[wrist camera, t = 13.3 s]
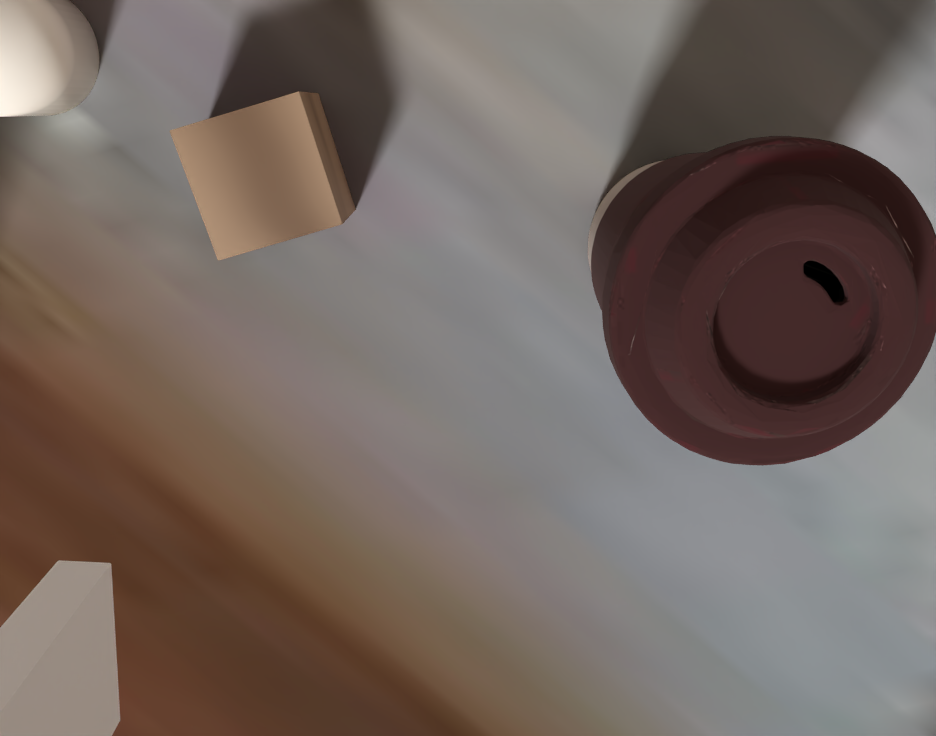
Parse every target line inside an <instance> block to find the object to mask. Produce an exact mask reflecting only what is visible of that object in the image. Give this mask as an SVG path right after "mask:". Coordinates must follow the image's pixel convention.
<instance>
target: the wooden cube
mask: <svg viewBox="0 0 936 736" xmlns="http://www.w3.org/2000/svg"><path fill="white" fill-rule="evenodd" d="M170 133H171V136H172V139H173V141H174V144H175V147H176V149H177V152H178V155H179V157H180V160H181V163H182V165H183V168H184V171H185V173H186V176H187V179H188V181H189V184H190V187H191V189H192V192H193V195H194V197H195V200H196V203H197V205H198V208H199V211H200V213H201V216H202V219H203V221H204V224H205V227H206V229H207V232H208V235H209V237H210V240H211V243H212V245H213V248H214V251H215V253H216V256H217V259H218V260H222V259H225V258H229V257H232V256H235V255H239V254H242V253H246V252H249V251H252V250H256V249H259V248H263V247H266V246H269V245H273V244H276V243H280V242H283V241H286V240H290V239H293V238H297V237H300V236H303V235H307V234H310V233H314V232H317V231H320V230H324V229H327V228H331V227H334V226H338V225H341V224H343V223H344V222H345V221H346V219H347V218H348V217H349V216H350V215H351V214H352V213H353V212H354V211H355V210H356V209H355V206H354V203H353V200H352V196H351V193H350V190H349V187H348V184H347V181H346V178H345V175H344V172H343V168H342V165H341V162H340V159H339V156H338V153H337V150H336V147H335V144H334V140H333V137H332V134H331V131H330V128H329V125H328V122H327V119H326V116H325V113H324V109H323V106H322V103H321V100H320V97H319V94H318V93H309V92H300V91H298V92H295V93H292V94H289V95H285V96H282V97H279V98H275V99H272V100H269V101H266V102H262V103H259V104H256V105H252V106H249V107H246V108H243V109H239V110H236V111H233V112H229V113H226V114H223V115H220V116H216V117H213V118H210V119H206V120H203V121H200V122H197V123H193V124H190V125H187V126H183V127H180V128H177V129H174V130H170Z"/></svg>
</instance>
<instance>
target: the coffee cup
mask: <svg viewBox="0 0 936 736" xmlns="http://www.w3.org/2000/svg"><path fill="white" fill-rule="evenodd" d="M588 260H589V265H590V270H591V273H592V282H593V287H594V291H595V294H596V297H597V300H598V303H599V305H600V308H601V310H602V317H603V329H604V336H605V342H606V345H607V349H608V353H609V357H610V360H611V362H612V364H613V366H614V369H615V371H616V373H617V376H618V377H619V379H620V381H621V383H622V384H623V386H624V388H625V389H626V391H627V392H628V394H629V396H630V397H631V399H632V400H633V402H634V403H635V405H636V406H637V407H638V409H639V410H640V411H641V412H642V413H643V415H644V416H645V417H646V418H647V419H648V420H649V421H650V422H651V423H652V424H653V425H654V426H655V427H656V428H657V429H658V430H659V431H661V432H662V433H663V434H665V435H666V436H667V437H669V438H670V439H671V440H673V441H675V442H676V443H678V444H680V445H681V446H683V447H685V448H687V449H688V450H690V451H693V452H696V453H698V454H701V455H703V456H706V457H709V458H712V459H716V460H719V461H723V462H728V463H733V464H745V465H773V464H785V463H789V462H793V461H797V460H801V459H805V458H809V457H813V456H816V455H819V454H822V453H824V452H827V451H829V450H831V449H833V448H835V447H837V446H839V445H841V444H843V443H845V442H847V441H849V440H851V439H853V438H854V437H856V436H857V435H859V434H860V433H862V432H863V431H865V430H866V429H868V428H869V427H870V426H872V425H873V424H874V423H875V422H876V421H878V420H879V419H880V418H881V417H882V416H883V415H884V414H885V413H886V412H887V411H888V410H889V409H890V408H891V407H892V406H893V405H894V404H895V403H896V402H897V401H898V400H899V399H900V398H901V397H902V395H903V394H904V392H905V391H906V390H907V388H908V387H909V386H910V384H911V383H912V381H913V380H914V378H915V377H916V375H917V374H918V372H919V370H920V369H921V367H922V365H923V363H924V361H925V359H926V357H927V355H928V353H929V351H930V349H931V346H932V343H933V340H934V337H935V333H936V235H935V232H934V229H933V227H932V224H931V222H930V220H929V218H928V217H927V215H926V213H925V211H924V210H923V208H922V206H921V205H920V203H919V202H918V200H917V199H916V197H915V196H914V194H913V193H912V192H911V191H910V189H909V188H908V187H907V186H906V185H905V184H904V183H903V181H902V180H901V179H900V178H899V177H898V176H896V175H895V174H894V173H893V172H892V171H891V170H889V169H888V168H887V167H886V166H884V165H882V164H881V163H879V162H878V161H876V160H875V159H873V158H871V157H869V156H867V155H865V154H863V153H861V152H860V151H858V150H855V149H853V148H850V147H847V146H844V145H841V144H838V143H834V142H830V141H825V140H820V139H813V138H802V137H791V136H769V137H760V138H751V139H746V140H742V141H738V142H734V143H730V144H727V145H725V146H722V147H719V148H716V149H714V150H711V151H709V152H703V153H691V154H685V155H680V156H676V157H672V158H669V159H666V160H663V161H658V162H654V163H651V164H648V165H645V166H643V167H641V168H638V169H636V170H635V171H633V172H631V173H629V174H628V175H627V176H625V177H624V178H623V179H621V180H620V181H619V182H618V183H617V184H616V185H615V186H614V187H613V188H612V189H611V190H610V191H609V192H608V193H607V195H606V196H605V197H604V199H603V200H602V202H601V204H600V205H599V207H598V209H597V211H596V213H595V216H594V218H593V220H592V224H591V227H590V232H589V237H588Z"/></svg>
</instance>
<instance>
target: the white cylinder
mask: <svg viewBox="0 0 936 736" xmlns="http://www.w3.org/2000/svg"><path fill="white" fill-rule="evenodd" d="M98 71H99V48H98V44H97V40H96V37H95V34H94V32H93V30H92V28H91V26H90V24H89V22H88V21H87V19H86V18H85V16H84V15H83V14H82V12H81V11H80V10H79V9H78V8H77V7H76V6H75V5H74V4H73V3H72V2H70V1H69V0H0V117H7V116H49V115H57V114H61V113H65V112H67V111H69V110H71V109H73V108H75V107H76V106H78V105H79V104H80V103H81V102H82V101H84V100H85V98H86V97H87V96H88V95H89V93H90V92H91V90H92V89H93V86H94V84H95V82H96V79H97V75H98Z"/></svg>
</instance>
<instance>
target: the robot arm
mask: <svg viewBox="0 0 936 736" xmlns="http://www.w3.org/2000/svg"><path fill="white" fill-rule="evenodd" d="M119 721H120V708H119V691H118V674H117V656H116V639H115V622H114V604H113V587H112V570H111V563H98V562H77V561H57V563H56V564H55V565H54V566H53V567H52V568H51V570H50V571H49V572H48V573H47V574H46V575H45V577H44V578H43V579H42V580H41V581H40V582H39V583H38V585H37V586H36V587H35V588H34V589H33V590H32V592H31V593H30V594H29V595H28V596H27V597H26V599H25V600H24V601H23V602H22V603H21V604H20V606H19V607H18V608H17V609H16V610H15V611H14V612H13V614H12V615H11V616H10V617H9V618H8V619H7V621H6V622H5V623H4V624H3V625H2V626H1V628H0V736H112V734H113V732H114V731H115V729H116V727H117V725H118V723H119Z"/></svg>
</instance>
